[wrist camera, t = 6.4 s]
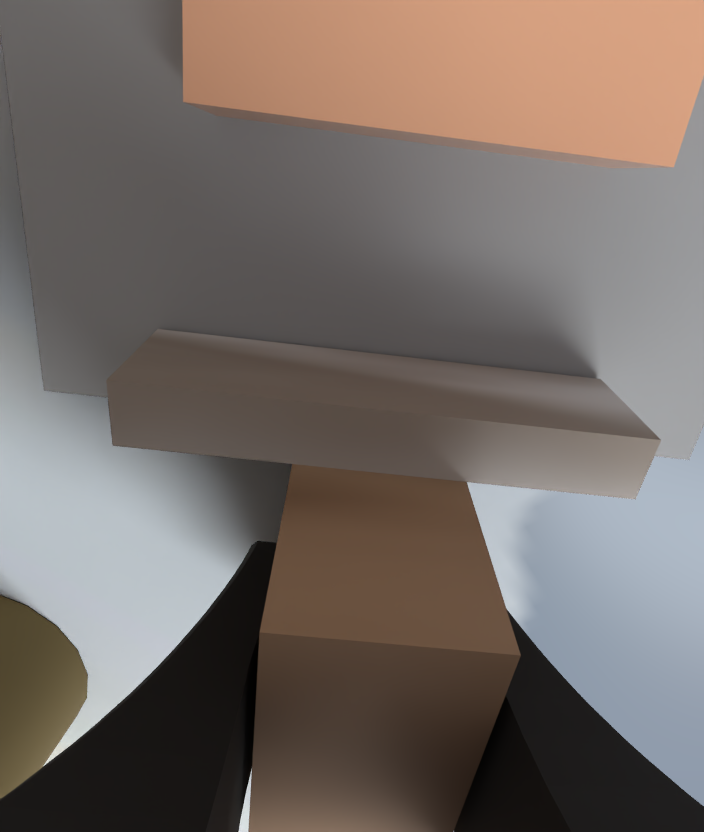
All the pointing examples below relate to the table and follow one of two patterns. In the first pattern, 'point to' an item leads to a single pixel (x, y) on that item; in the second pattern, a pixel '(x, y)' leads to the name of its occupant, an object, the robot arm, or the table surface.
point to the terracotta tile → (458, 72)
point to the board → (333, 230)
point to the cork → (34, 691)
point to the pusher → (377, 551)
